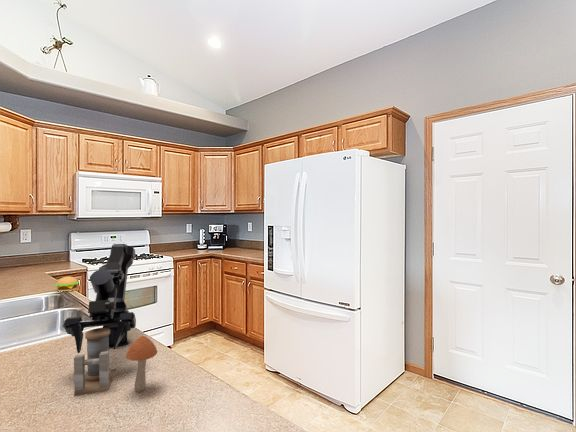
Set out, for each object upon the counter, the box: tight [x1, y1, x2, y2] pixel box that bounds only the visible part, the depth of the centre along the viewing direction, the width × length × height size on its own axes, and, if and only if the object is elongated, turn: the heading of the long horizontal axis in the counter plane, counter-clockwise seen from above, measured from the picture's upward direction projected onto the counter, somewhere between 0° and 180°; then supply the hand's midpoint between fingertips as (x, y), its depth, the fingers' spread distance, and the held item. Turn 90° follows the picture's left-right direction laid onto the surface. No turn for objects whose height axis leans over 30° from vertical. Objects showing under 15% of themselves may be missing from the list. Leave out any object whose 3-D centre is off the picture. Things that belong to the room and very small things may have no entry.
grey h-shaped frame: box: [73, 350, 117, 397], centre depth 94 cm, size 11×8×10 cm
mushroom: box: [125, 334, 158, 393], centre depth 90 cm, size 8×8×15 cm
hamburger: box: [55, 275, 80, 292], centre depth 203 cm, size 12×12×9 cm
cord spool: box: [84, 327, 112, 381], centre depth 96 cm, size 6×6×13 cm
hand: (96, 350), depth 94 cm, fingers open, 9 cm apart
